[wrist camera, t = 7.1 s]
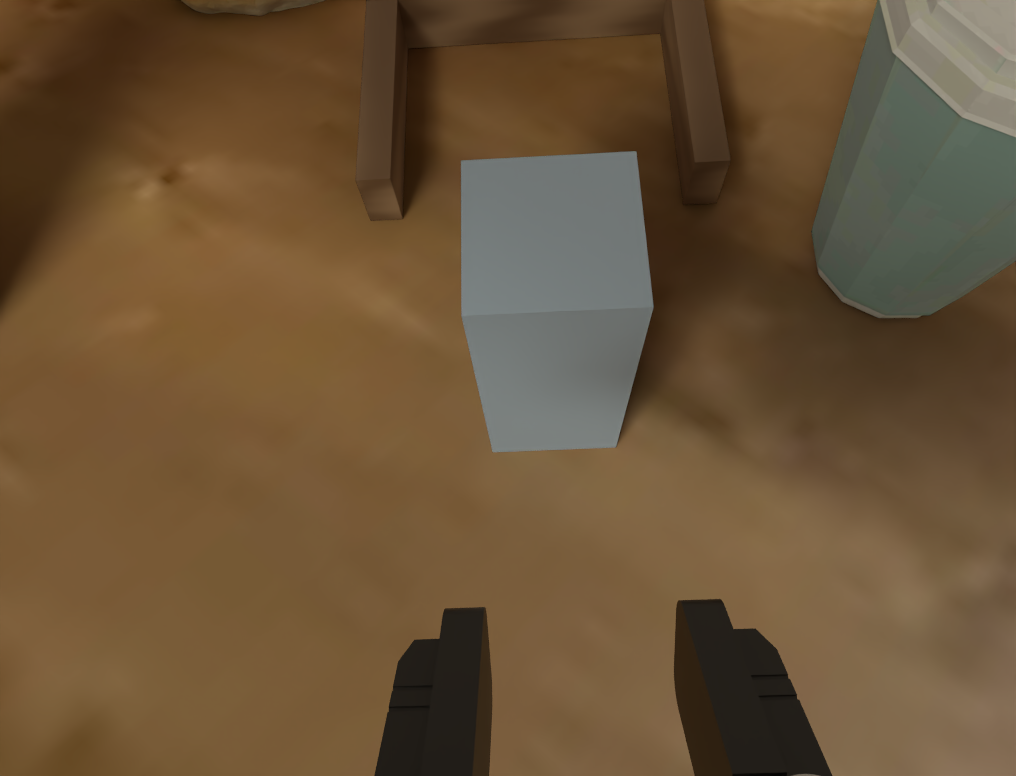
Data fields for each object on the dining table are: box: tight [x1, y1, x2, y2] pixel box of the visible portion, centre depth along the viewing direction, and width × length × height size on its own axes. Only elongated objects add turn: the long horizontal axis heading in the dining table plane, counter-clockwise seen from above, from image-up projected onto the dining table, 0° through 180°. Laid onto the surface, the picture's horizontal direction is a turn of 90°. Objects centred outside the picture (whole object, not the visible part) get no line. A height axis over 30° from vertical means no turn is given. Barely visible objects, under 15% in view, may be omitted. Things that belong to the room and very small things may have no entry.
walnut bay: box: [356, 0, 731, 221], centre depth 36 cm, size 16×12×3 cm
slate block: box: [461, 151, 654, 452], centre depth 26 cm, size 5×5×12 cm
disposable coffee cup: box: [811, 0, 1016, 318], centre depth 27 cm, size 11×11×15 cm
